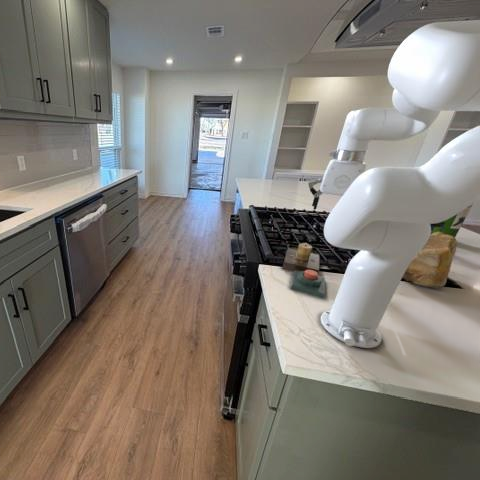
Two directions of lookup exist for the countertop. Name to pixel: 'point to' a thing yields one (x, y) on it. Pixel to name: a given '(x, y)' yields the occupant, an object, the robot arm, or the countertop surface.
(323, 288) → the button box
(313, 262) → the dial panel
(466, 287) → the countertop surface
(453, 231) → the wine bottle
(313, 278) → the button
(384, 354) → the countertop surface
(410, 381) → the countertop surface
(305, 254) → the dial
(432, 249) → the rough brown rock
